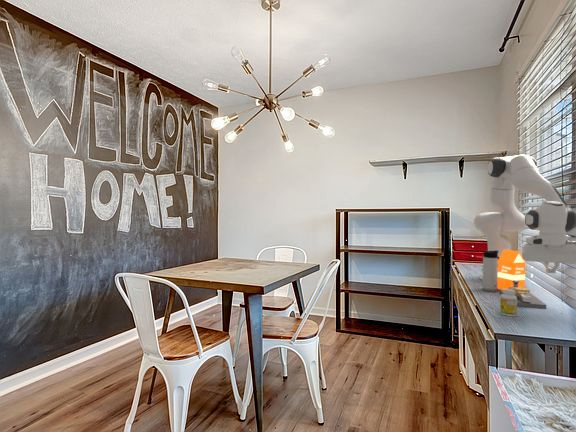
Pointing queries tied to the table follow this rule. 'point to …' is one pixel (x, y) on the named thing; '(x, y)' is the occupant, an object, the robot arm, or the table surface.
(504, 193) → the robot arm
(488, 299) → the table surface
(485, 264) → the travel mug
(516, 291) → the keeper clip
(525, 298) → the arm link
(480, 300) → the table surface
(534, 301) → the base plate
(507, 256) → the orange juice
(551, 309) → the table surface
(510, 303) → the supplement bottle
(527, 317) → the table surface
